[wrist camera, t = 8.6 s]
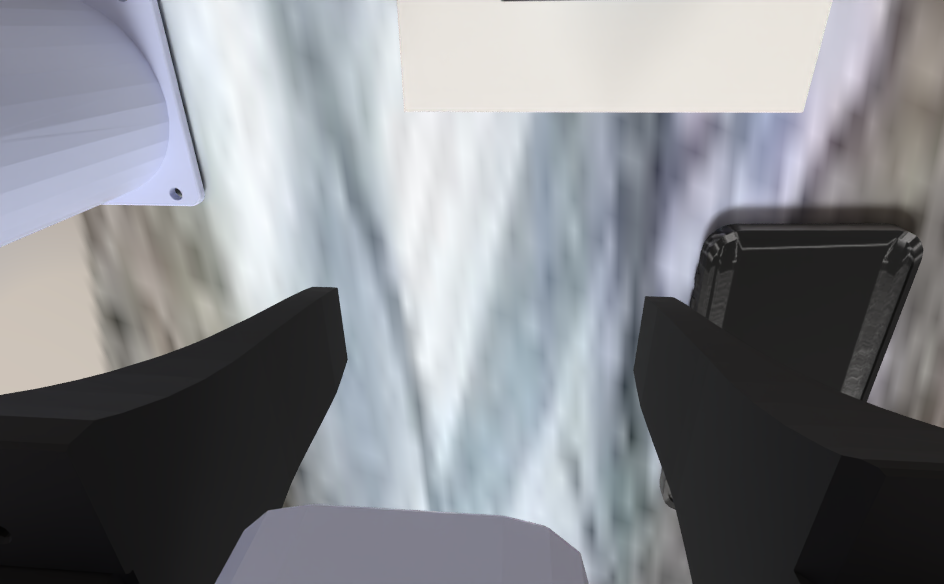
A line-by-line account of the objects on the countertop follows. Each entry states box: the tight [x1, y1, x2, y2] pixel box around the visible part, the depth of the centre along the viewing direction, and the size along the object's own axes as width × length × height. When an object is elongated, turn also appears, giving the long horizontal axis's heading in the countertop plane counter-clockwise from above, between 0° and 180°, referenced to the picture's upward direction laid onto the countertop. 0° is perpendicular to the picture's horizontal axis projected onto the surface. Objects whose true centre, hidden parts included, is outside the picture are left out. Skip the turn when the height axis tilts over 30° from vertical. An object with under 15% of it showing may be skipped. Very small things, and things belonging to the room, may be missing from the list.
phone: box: [660, 224, 923, 510], centre depth 23 cm, size 8×1×15 cm
